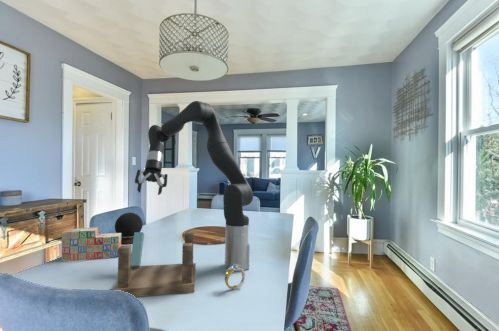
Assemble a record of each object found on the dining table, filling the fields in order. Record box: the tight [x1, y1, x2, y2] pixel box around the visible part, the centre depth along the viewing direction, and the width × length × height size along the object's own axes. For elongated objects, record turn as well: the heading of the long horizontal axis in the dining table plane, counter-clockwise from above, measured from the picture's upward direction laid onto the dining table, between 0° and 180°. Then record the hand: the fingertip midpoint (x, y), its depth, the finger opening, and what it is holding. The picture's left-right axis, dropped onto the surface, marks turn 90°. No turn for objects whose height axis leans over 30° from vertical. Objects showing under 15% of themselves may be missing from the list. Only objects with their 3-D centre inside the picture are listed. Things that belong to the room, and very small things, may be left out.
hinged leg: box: [131, 231, 145, 267], centre depth 96 cm, size 3×3×12 cm
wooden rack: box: [112, 232, 197, 297], centre depth 88 cm, size 24×18×14 cm
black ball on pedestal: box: [114, 212, 143, 246], centre depth 134 cm, size 13×13×15 cm
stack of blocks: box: [61, 226, 122, 262], centre depth 111 cm, size 21×6×12 cm, turn 105°
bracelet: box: [224, 264, 246, 291], centre depth 84 cm, size 7×3×8 cm, turn 114°
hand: (149, 193), depth 119 cm, fingers open, 8 cm apart
